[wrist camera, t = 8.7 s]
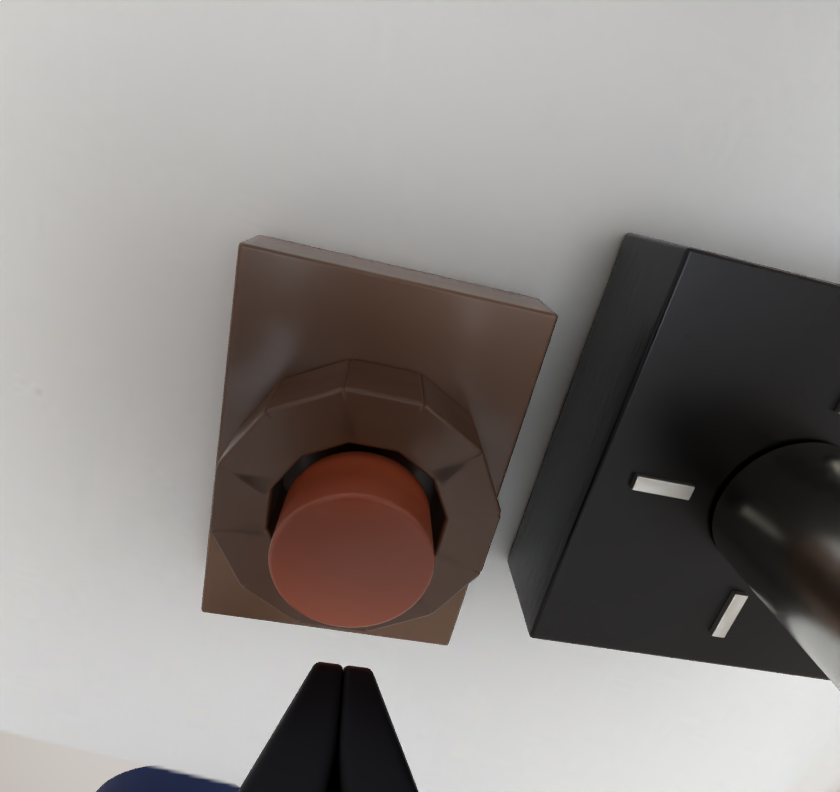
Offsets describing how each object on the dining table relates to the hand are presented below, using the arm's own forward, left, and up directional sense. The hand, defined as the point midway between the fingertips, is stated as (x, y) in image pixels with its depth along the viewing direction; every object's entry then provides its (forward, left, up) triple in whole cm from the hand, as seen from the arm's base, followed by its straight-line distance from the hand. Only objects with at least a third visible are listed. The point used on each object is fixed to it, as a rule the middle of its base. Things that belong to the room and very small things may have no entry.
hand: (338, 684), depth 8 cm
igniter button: (0, 0, -4) cm, 4 cm away
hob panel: (+2, -10, -7) cm, 12 cm away
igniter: (0, 0, -7) cm, 7 cm away
